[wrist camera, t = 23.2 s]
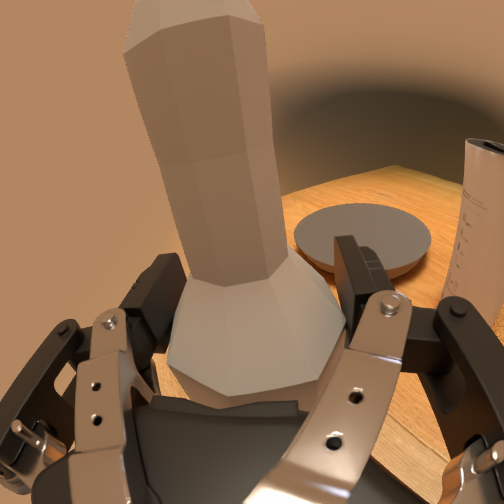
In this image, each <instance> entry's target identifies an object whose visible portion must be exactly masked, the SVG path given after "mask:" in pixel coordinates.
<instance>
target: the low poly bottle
mask: <svg viewBox="0 0 504 504" xmlns="http://www.w3.org/2000/svg"><path fill="white" fill-rule="evenodd" d="M123 56H124V59H125V62H126V66H127V69H128V73H129V76H130V79H131V83H132V86H133V90H134V93H135V96H136V99H137V102H138V106H139V109H140V112H141V115H142V118H143V120H144V124H145V127H146V130H147V132H148V136H149V138H150V141H151V144H152V147H153V150H154V152H155V155H156V158H157V161H158V164H159V167H160V170H161V174H162V178H163V181H164V185H165V189H166V192H167V196H168V200H169V203H170V206H171V210H172V213H173V217H174V220H175V224H176V227H177V230H178V234H179V237H180V240H181V243H182V247H183V249H184V253H185V256H186V259H187V262H188V265H189V268H190V271H191V272H190V274H189V277H188V279H187V282H186V285H185V287H184V290H183V292H182V295H181V298H180V301H179V303H178V306H177V309H176V311H175V315H174V320H173V326H172V332H171V338H170V345H169V351H168V358H167V364H168V366H169V368H170V369H171V371H172V372H173V374H174V376H175V377H176V379H177V380H178V382H179V383H180V385H181V386H182V388H183V389H184V391H185V392H186V394H187V395H188V397H189V398H190V400H191V401H193V402H196V403H199V404H202V405H206V406H209V407H212V408H215V409H223V408H229V407H234V406H240V405H245V404H249V403H254V402H258V401H290V400H298V406H299V410H302V411H308V412H310V411H311V409H312V407H313V406H314V404H315V402H316V400H317V399H318V397H319V395H320V393H321V391H322V389H323V387H324V386H325V384H326V382H327V380H328V378H329V376H330V374H331V372H332V370H333V368H334V366H335V364H336V362H337V360H338V358H339V356H340V354H341V352H342V350H343V349H344V343H345V333H346V318H345V316H344V314H343V312H342V310H341V308H340V307H339V305H338V303H337V301H336V299H335V297H334V295H333V294H332V292H331V290H330V288H329V286H328V284H327V283H326V281H325V279H324V278H323V277H322V276H321V275H320V274H319V273H318V272H317V271H316V270H315V269H314V268H313V267H312V266H310V265H309V264H308V263H307V262H306V261H305V260H304V259H303V258H302V257H301V256H300V255H299V254H297V253H296V252H295V251H294V250H293V249H292V248H291V247H290V246H289V245H288V244H287V239H286V231H285V223H284V216H283V208H282V200H281V194H280V186H279V180H278V172H277V166H276V158H275V152H274V146H273V134H272V119H271V104H270V91H269V78H268V66H267V54H266V43H265V32H264V25H263V23H262V21H261V20H260V18H259V17H258V15H257V13H256V12H255V10H254V9H253V7H252V6H251V4H250V3H249V1H248V0H136V1H135V4H134V8H133V12H132V16H131V20H130V24H129V28H128V33H127V37H126V42H125V47H124V53H123Z"/></svg>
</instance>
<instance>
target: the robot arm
mask: <svg viewBox="0 0 504 504" xmlns="http://www.w3.org/2000/svg"><path fill="white" fill-rule="evenodd" d="M334 276H335V284H336V289H337V293H338V297H339V301H340V305H341V310H342V312H343V314H344V316H345V318H346V332H347V337H348V342H349V347H344V349H343V350H342V352H341V354H340V356H339V358H338V360H337V362H336V364H335V366H334V368H333V370H332V372H331V374H330V376H329V378H328V380H327V382H326V384H325V386H324V387H323V389H322V391H321V393H320V395H319V397H318V399H317V400H316V402H315V404H314V406H313V407H312V409H311V411H310V412H308V411H302V410H299V406H298V400H290V401H258V402H254V403H249V404H245V405H240V406H234V407H229V408H223V409H215V408H212V407H209V406H206V405H202V404H199V403H196V402H193V401H190V400H188V399H185V398H177V397H168V396H161V392H160V387H159V382H158V377H157V372H156V366H155V362H154V361H153V359H152V356H153V353H160V354H165V353H166V350H167V348H168V345H169V343H170V338H171V332H172V326H173V320H174V315H175V311H176V309H177V306H178V303H179V301H180V298H181V295H182V292H183V290H184V287H185V285H186V282H187V278H186V276H185V273H184V270H183V267H182V264H181V262H180V258H179V256H178V254H176V253H168V254H160V255H158V256H157V258H156V259H155V260H154V262H153V263H152V265H151V266H150V267H149V268H147V269H146V270H145V271H144V272H143V273H141V274H140V276H139V277H138V279H137V280H136V283H134V285H133V286H132V289H130V291H129V292H128V294H127V295H126V297H125V298H124V300H123V301H122V303H121V304H120V306H119V307H118V308H113V309H109V310H107V311H105V312H103V313H102V314H100V315H99V316H98V317H97V318H96V320H95V321H94V323H93V326H91V327H87V328H83V329H81V328H80V326H79V325H78V323H77V321H76V320H74V319H67V320H64V321H63V322H61V323H59V324H58V325H57V326H56V327H55V328H54V329H53V330H52V332H51V333H50V334H49V335H48V337H47V338H46V339H45V341H44V342H43V343H42V344H41V345H40V347H39V348H38V349H37V351H36V352H35V353H34V355H33V356H32V357H31V359H30V360H29V361H28V362H27V364H26V365H25V367H24V368H23V369H22V371H21V372H20V374H19V375H18V376H17V378H16V379H15V381H14V382H13V384H12V385H11V387H10V388H9V390H8V391H7V393H6V394H5V396H4V397H3V399H2V400H1V402H0V478H2V479H3V480H5V481H7V482H9V483H15V482H17V481H19V480H20V479H21V480H22V481H23V482H24V483H25V484H26V485H27V486H28V487H29V488H30V489H31V501H32V504H430V503H428V502H427V501H426V500H424V499H423V498H422V497H421V496H419V495H418V494H417V493H415V492H414V491H413V490H412V489H410V488H409V487H408V486H407V485H406V484H404V483H403V482H402V481H401V480H400V479H398V478H397V477H396V476H395V475H394V474H392V473H391V472H390V471H389V470H388V469H386V468H385V467H384V466H383V465H382V464H381V463H380V462H378V461H377V460H376V459H375V458H374V457H373V456H372V455H371V452H372V450H373V447H374V445H375V443H376V440H377V438H378V435H379V433H380V430H381V428H382V425H383V423H384V420H385V417H386V414H387V411H388V409H389V406H390V403H391V400H392V397H393V393H394V390H395V387H396V384H397V380H398V377H399V373H400V372H407V373H417V375H418V377H419V379H420V381H421V383H422V386H423V388H424V390H425V393H426V395H427V397H428V400H429V402H430V404H431V407H432V409H433V412H434V414H435V417H436V419H437V422H438V424H439V427H440V430H441V432H442V435H443V438H444V440H445V443H446V446H447V449H448V452H449V455H450V458H451V461H450V462H449V463H448V465H447V466H446V468H445V470H444V472H443V476H442V486H443V491H442V496H441V498H440V501H439V502H438V504H504V346H503V345H502V343H501V342H500V340H499V339H498V338H497V336H496V335H495V333H494V332H493V331H492V329H491V328H490V326H489V325H488V324H487V322H486V321H485V320H484V318H483V317H482V316H481V314H480V313H479V312H478V311H477V309H476V308H475V307H474V305H473V304H472V303H471V302H469V301H468V300H466V299H464V298H462V297H458V296H448V297H445V298H443V299H442V300H441V301H440V302H439V304H438V307H437V309H431V308H420V307H415V306H412V303H411V301H410V300H409V298H408V297H407V296H405V295H404V294H402V293H400V292H397V291H395V288H394V286H393V284H392V282H391V280H390V278H389V276H388V274H387V272H386V271H385V269H384V267H383V265H382V263H381V262H380V259H379V257H378V255H377V254H376V252H375V251H373V250H372V249H371V248H369V247H368V246H360V247H359V246H358V244H357V242H356V240H355V238H354V236H353V235H344V236H334ZM67 362H68V363H69V364H70V365H71V367H72V368H73V369H74V370H75V371H76V375H75V376H74V378H73V379H72V381H71V383H70V384H69V386H68V387H67V389H66V390H65V392H64V394H63V395H62V397H61V396H60V395H59V394H58V393H57V392H56V391H55V388H54V381H55V379H56V377H57V376H58V374H59V373H60V371H61V370H62V368H63V367H64V366H65V364H66V363H67ZM37 421H39V422H37ZM74 440H75V449H73V450H72V451H70V452H69V453H68V451H69V450H70V448H71V446H72V444H73V442H74Z"/></svg>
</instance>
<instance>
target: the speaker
mask: <svg viewBox="0 0 504 504" xmlns="http://www.w3.org/2000/svg"><path fill="white" fill-rule="evenodd" d="M464 171H465V172H464V183H463V192H462V201H461V208H460V215H459V221H458V227H457V233H456V238H455V243H454V248H453V252H452V257H451V261H450V265H449V269H448V273H447V277H446V281H445V284H444V288H443V291H442V295H441V298H440V301H441V300H442V299H443V298H445V297H448V296H458V297H462V298H464V299H466V300H468V301H469V302H471V303H472V304H473V305H474V307H475V308H476V309H477V311H478V312H479V313H480V314H481V316H482V317H483V318H484V320H485V321H486V322H487V324H488V325H489V326H490V328H492V326H493V324H494V322H495V320H496V318H497V316H498V314H499V312H500V309H501V307H502V305H503V303H504V145H503V144H499V143H495V142H491V141H486V140H480V139H466V145H465V170H464ZM440 301H439V302H440Z"/></svg>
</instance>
